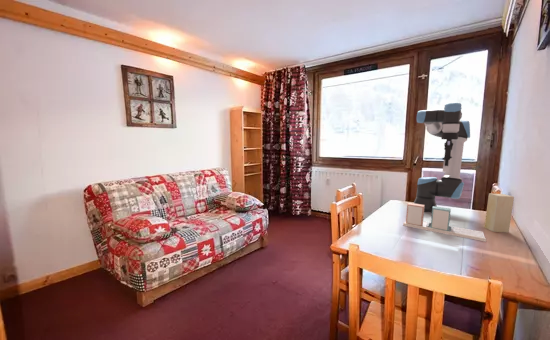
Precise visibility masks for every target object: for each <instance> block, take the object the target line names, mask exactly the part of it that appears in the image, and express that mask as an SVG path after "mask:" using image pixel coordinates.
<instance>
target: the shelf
mask: <svg viewBox="0 0 550 340" xmlns="http://www.w3.org/2000/svg"><path fill="white" fill-rule="evenodd" d="M402 224H403V225H402V226H404V227H408V228H414V229H419V230H423V231H430V232H433V233H439V234H445V235H449V236H453V237H460V238H464V239H470V240H475V241H481V242H485V243H486V242H487V238H486V237H485V234H484V231H481V230H475V229H469V228H463V227H458V226H452V225H449V230H448V231H445V230H439V229H434V228H430V227H431V221H424V220H423V226H418V225H413V224H408V223H406V220H405V221H404V222H403V223H402Z"/></svg>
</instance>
